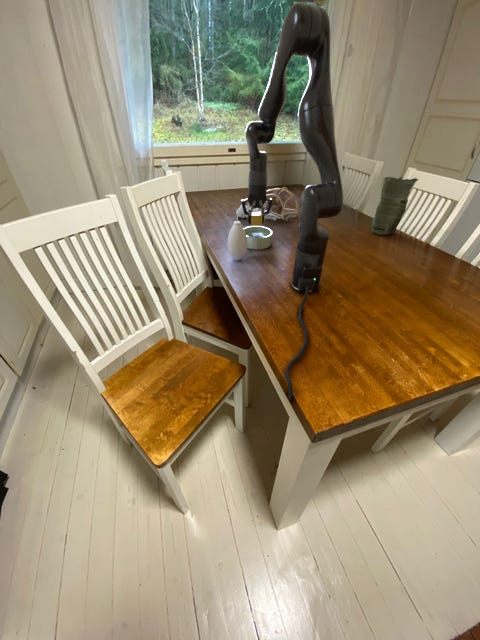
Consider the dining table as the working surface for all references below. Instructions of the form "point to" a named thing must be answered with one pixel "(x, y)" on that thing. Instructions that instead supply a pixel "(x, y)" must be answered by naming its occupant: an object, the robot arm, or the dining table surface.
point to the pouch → (391, 204)
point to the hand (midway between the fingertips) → (255, 223)
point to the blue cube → (257, 235)
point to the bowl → (260, 241)
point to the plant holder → (274, 205)
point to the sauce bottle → (237, 241)
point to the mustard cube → (256, 219)
